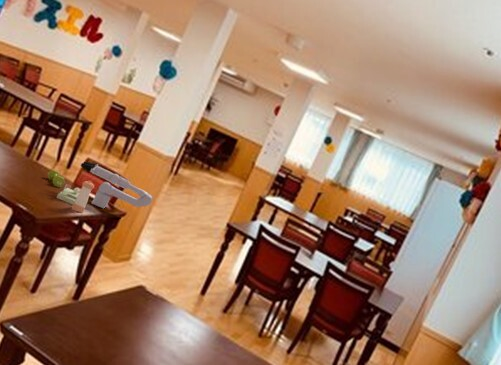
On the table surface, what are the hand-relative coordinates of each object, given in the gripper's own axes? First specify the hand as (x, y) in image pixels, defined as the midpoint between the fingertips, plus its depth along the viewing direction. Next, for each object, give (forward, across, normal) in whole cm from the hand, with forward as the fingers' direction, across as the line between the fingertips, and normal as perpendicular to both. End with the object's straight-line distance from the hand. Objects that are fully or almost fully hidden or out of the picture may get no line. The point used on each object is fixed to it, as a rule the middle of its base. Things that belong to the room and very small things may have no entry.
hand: (82, 163), depth 338 cm
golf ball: (-5, +6, +16) cm, 18 cm away
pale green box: (-5, +12, +21) cm, 25 cm away
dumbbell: (+12, -8, +22) cm, 26 cm away
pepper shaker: (-13, +31, +21) cm, 40 cm away
